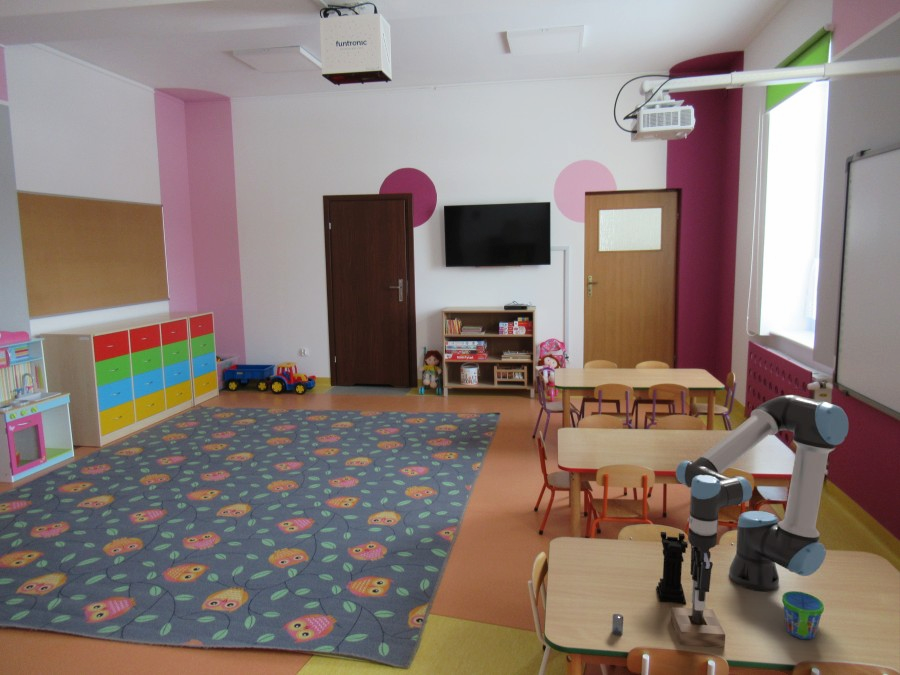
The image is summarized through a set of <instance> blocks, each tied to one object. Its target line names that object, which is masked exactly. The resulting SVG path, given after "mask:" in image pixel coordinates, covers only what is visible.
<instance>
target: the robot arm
mask: <svg viewBox="0 0 900 675" xmlns="http://www.w3.org/2000/svg"><path fill="white" fill-rule="evenodd" d="M849 428H850V427H849V418H848V415H847V414H846V412H845V411H844V409H843V408H842V407H841V406H840V405H839V406H838V405H837V404H832V403H830V402H828V401H823V400H818V399H814V398H810V397H809V398H808V397H805V396H801V395H798V394H797V395H796V394H786V395H785V394H783V395H780V396H778V397H774V398H772V399H771V398H770V399H769V400H767V401H765V402H763V403H762V404H760V405H759V406H757V407H756V408H755V409H753V410H752V411H751V413H750V416H749V418H747V419H746V420H745V421H744V422H742V423H741V424H740V425H739V426H737V427H736V428H735V429H733V430H732V431H731V432H730V433H729V434H728V435H726V436H725V437H724V438H722V439H721V440H719V441H718V442H717V443H716V444H715V445H714V446H712V447H711V448H710V449H709V450H707V451H706V452H705V453H704V454H702V455H701V456H700V457H699V458H697V459H696V460H694V461H693V460H689V459H688V460H682V461H681V462H680V463H679V464H678V466H677V467H676V471H675V477H676V479H677V481H678V482H679V483H681V484H683V485H684V486H685V487H687V488H690V490H689V492H690V503H689V505H690V506H689V517H688V518H687V522H688V524H689V525H688V527H689V528H688V534H687V535H688V536H687V540H688V541H687V542H688V543H689V544H690V575H691V579H692V582H691V583H692V585H691V604H693V589H694V588H695V590H696V592H695V610H702V611H705V609H706V602H707V600H706V597H707V593H710V588H711V587H710V586H711V577H712V576H711V575H712V570H713V565H714V564H713V562H712V561H711V555H712V554H711V551H710V549H713V548H715V547H716V546H717V540H718V539H717V538H718V533H717V532H718V530H719V527H718V526H719V513H720V512H719V510H720V509H723V508H727V507H731V506H736V505H741V504H742V503H745V502H748V501H749V500H751V498H752V496H753V487H752V485H751V483H750V482H749V480H748V479H746V477H745V476H741V475H739V476H738V475H735V476H732V477H731V476H727V475H725V474H722V473H724V472H725V471H726V470H728V469H729V468H730V467H732V466H733V465H734V464H735V463H736V462H737V461H739V460H740V459H742V457H743V456H745V455H746V454H747V453H748V452H750V451H751V450H752V449H753V448H755V447H756V446H757V445H759V443H761V442H762V441H763V440H765V439H766V438H767V437H768V436H774V435H776V434H777V433H779V432H780V431H788V432H791V433H793V435H792V441H793V443H794V444H795V446H796V449H795V456H794V460H793V467H792V468H793V469H792V474H791V478H790V485H789V489H788V490H789V491H788V496H787V501H786V502H787V503H786V508H785V514H784V519H783V520H780V521H779V519H778V518H779V517H778V516H777V515H776V514H773V513H770V512H767V511H761V510H760V511H759V510H749V511H745V512H743V513H741V514H740V515H739V516H738V522H737V529H736V530H737V532H736V533H737V534H736V553H735V555H734V557H733V559H732V562H731V564H730V566H729V568H728V569H729V571H728V576H729V578H730V579H731V580H732V581H733V582H734V583H735V584H737V585H738V586H741V587H743V588H745V589H749V590H752V591H757V592H758V591H760V592H769V591H773V590H776V589H777V588H778V587H779V585H780V584H779V582H780V576H779V573H778V570H777V569H778V568H777V565H778V566H780V567H782V568H784V569H785V570H788V571H789V572H791V573H795V574H797V575H798V576H802V577H809V576H811V575H813V574H815V573H816V572H817V571H818V570H819V569H820V567H822V564H823V563H824V561H825V558H826V553H827V552H826V548H825V546H824V544H823V543H821V542H819V539H820V535H821V534H820V532H819V531H818V529H817V528H816V525H817V519H818V514H819V508H820V502H821V499H822V498H821V497H822V491H823V486H824V481H825V475H826V469H827V463H828V458H829V453H831V452H832V451H835V449H836V447H837V446H838V445H840V444H842V443H843V442H844V441H845V440H846V439H845V438H846V437H847V435H848V434H849ZM776 564H777V565H776ZM695 579H697V587H694V580H695Z"/></svg>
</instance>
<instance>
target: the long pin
mask: <svg viewBox="0 0 900 675" xmlns="http://www.w3.org/2000/svg"><path fill="white" fill-rule="evenodd" d="M693 581H694V587H697V579H695V580H693ZM695 592H696V590H695V588H694V589H693V603H692V606H691V607H692V620H693V621H694V622H696V623H702V622H703V611H702V610H695Z"/></svg>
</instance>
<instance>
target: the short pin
mask: <svg viewBox="0 0 900 675" xmlns="http://www.w3.org/2000/svg"><path fill="white" fill-rule="evenodd" d="M611 623H612V625H611V627H612V628H611V633H612V634H613V635H614V636H617V637H618V636H619V637H620V636H622V635H623V633H624V616H623V615H622V614H620V613H613V614H612V621H611Z"/></svg>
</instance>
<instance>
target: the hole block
mask: <svg viewBox="0 0 900 675" xmlns="http://www.w3.org/2000/svg"><path fill="white" fill-rule="evenodd" d="M670 621H671V623H672V626H673V629H674V631H675V634H676V636H677V639H678V642H679V644H680V645H683V646H696V647H697V646H698V647H699V646H700V647H712V648H713V647H715V648H716V647H717V648H725V647H726V646H725V645H726V633H725V630H724V629H723V626H722V625H721V622H720V621H719V619H718V617H717V615H716V613H715V611H714V610H713V609H711V608H710V609H709V608H705V611H703V622H702V623H696V622H694V621H693V620H692V608H689V607H671V608H670Z"/></svg>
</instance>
